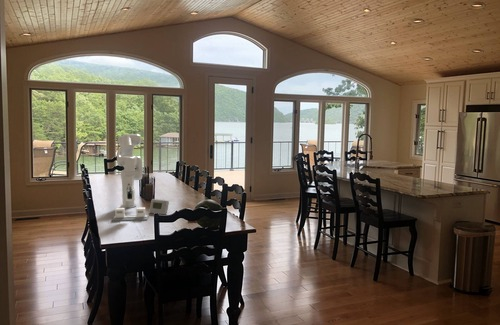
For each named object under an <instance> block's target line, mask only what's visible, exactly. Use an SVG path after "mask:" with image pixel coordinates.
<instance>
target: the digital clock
mask: <svg viewBox="0 0 500 325" xmlns="http://www.w3.org/2000/svg"><path fill="white" fill-rule="evenodd" d="M169 204H170V201H169V200H166V199H165V200H164V199H157V198H156V199H155V198H152V199H151V202H150V205H149V210H148V212H149V213H151V214H154V213H159V214H158V215H165V216H166V215H167V214H168V209H169Z"/></svg>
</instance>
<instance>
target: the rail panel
mask: <svg viewBox="0 0 500 325" xmlns="http://www.w3.org/2000/svg"><path fill="white" fill-rule="evenodd" d="M135 211H136V213H135V214H127V215H126V208H123V207H116V208H115V211H114V213H115V215H114V216H113V218H112V219H111V222H136V221H137V222H140V221H141V222H142V221H143V222H144V221H148V219H149V216H150V214H146V207H144V206H143V207H142V206H140V207H136V209H135Z"/></svg>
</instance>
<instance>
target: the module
mask: <svg viewBox="0 0 500 325" xmlns="http://www.w3.org/2000/svg"><path fill="white" fill-rule="evenodd" d="M127 190H128V189H127ZM127 190H125V192H126V201H134V202H135V200H136V189H135V188H134V189H132V199H127ZM130 191H131V190H130Z"/></svg>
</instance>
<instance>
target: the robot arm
mask: <svg viewBox="0 0 500 325" xmlns="http://www.w3.org/2000/svg"><path fill="white" fill-rule="evenodd" d="M117 141H118V142H117V143H118V144H119V147H120V149H119V150H118V151H117V154H116V163H117V166H119V167H123V168H124V169H122V170H121V171H120V179H121V188H122V189H121V192H122V195H121V197H122V199H121V200H122V204H120V208H125V209H131V208H134V207H137V204H136V203H135V200H134V201H126V192H125V190H127V189H128V190H127V199H132V189H135V181H140V180H142V179H143V159H142V157H141V156H138V155H134V154H133V152H134V150H135V146H137V147H138V146H140V145H141V143H142V137H141V135H140V134H138V133H127V134H123V135H120V136H118V140H117ZM130 190H131V191H130Z"/></svg>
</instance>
